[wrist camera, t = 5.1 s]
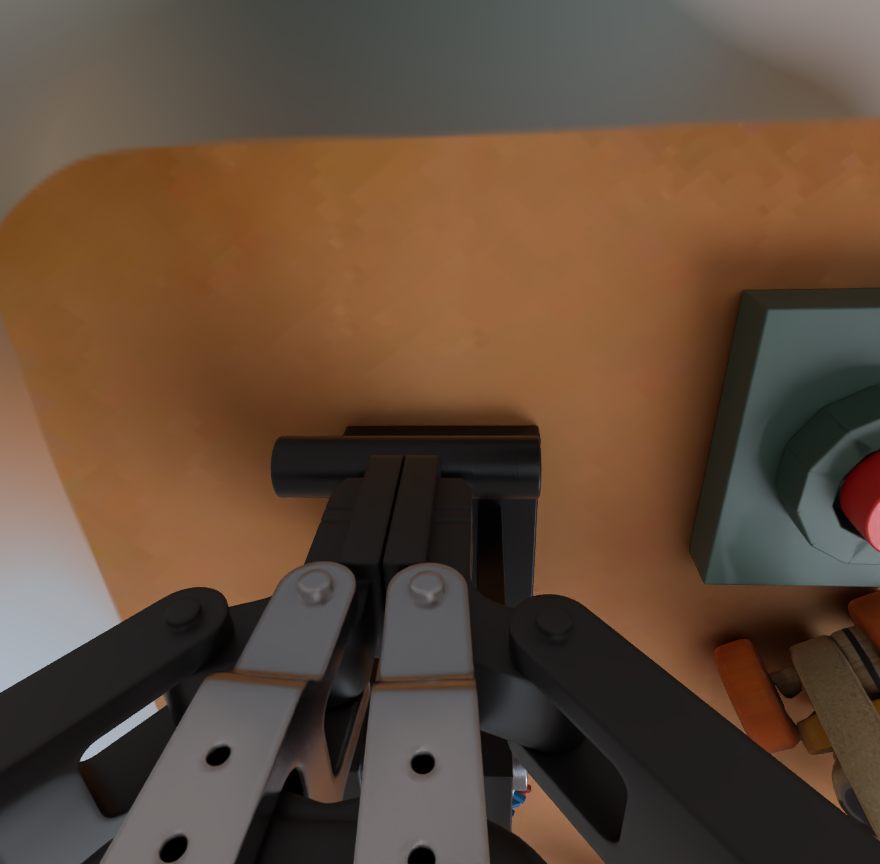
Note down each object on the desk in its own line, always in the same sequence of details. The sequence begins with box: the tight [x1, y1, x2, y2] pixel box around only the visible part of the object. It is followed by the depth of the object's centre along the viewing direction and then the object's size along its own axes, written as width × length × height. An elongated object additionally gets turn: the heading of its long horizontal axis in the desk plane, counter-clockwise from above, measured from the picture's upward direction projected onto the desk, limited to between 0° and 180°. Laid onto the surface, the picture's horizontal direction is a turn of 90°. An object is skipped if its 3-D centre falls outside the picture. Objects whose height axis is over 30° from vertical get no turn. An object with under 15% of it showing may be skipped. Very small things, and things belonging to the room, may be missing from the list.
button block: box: [689, 288, 880, 587], centre depth 23 cm, size 12×10×4 cm
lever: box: [271, 436, 541, 499], centre depth 16 cm, size 12×6×2 cm, turn 2°
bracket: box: [342, 426, 541, 831], centre depth 22 cm, size 11×8×13 cm
